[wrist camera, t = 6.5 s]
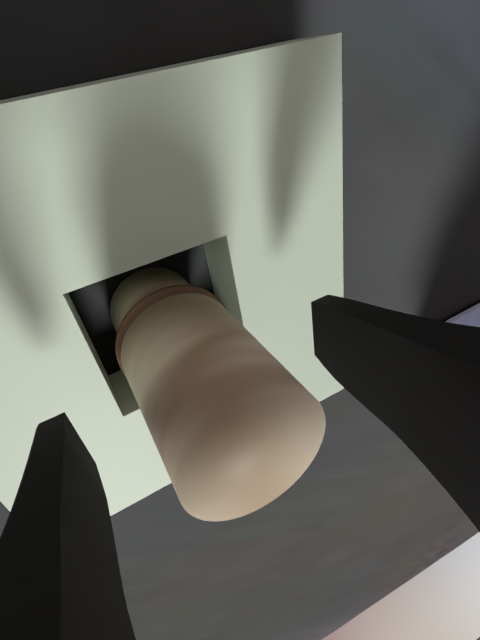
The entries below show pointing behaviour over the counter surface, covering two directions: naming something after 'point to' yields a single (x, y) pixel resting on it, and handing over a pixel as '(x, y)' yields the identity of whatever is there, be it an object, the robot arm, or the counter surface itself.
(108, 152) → the sage board
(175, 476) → the beech peg
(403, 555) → the counter surface
